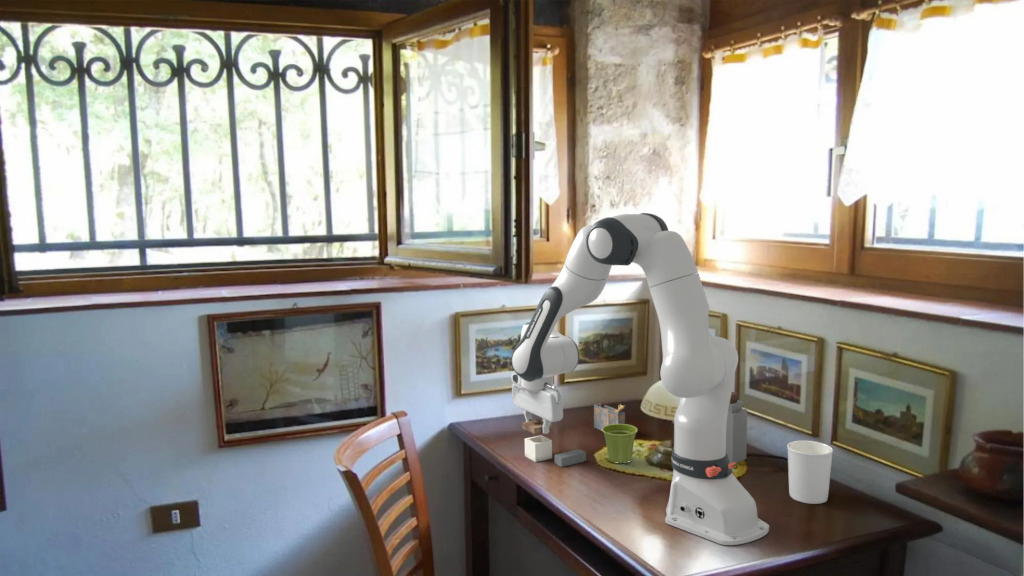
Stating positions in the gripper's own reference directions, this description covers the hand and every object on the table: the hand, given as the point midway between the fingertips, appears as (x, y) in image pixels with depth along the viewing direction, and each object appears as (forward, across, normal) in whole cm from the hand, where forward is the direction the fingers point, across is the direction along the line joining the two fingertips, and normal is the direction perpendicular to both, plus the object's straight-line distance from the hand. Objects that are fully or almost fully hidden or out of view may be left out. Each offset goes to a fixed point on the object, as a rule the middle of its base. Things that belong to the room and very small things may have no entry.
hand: (537, 429), depth 197 cm
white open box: (+8, 0, 0) cm, 8 cm away
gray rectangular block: (+8, -8, -5) cm, 12 cm away
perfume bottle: (+8, -29, -42) cm, 52 cm away
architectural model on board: (+8, +7, -30) cm, 32 cm away
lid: (0, 0, 0) cm, 0 cm away
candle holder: (+8, -57, -38) cm, 69 cm away
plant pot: (+8, -14, -17) cm, 24 cm away
